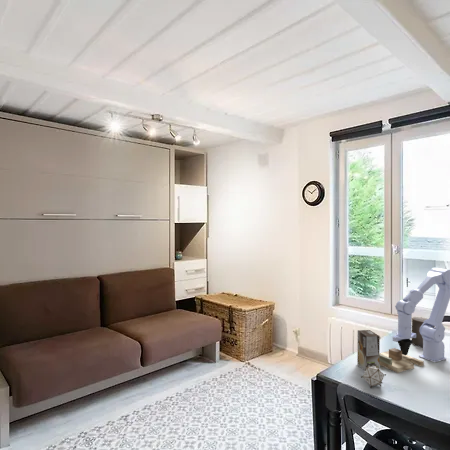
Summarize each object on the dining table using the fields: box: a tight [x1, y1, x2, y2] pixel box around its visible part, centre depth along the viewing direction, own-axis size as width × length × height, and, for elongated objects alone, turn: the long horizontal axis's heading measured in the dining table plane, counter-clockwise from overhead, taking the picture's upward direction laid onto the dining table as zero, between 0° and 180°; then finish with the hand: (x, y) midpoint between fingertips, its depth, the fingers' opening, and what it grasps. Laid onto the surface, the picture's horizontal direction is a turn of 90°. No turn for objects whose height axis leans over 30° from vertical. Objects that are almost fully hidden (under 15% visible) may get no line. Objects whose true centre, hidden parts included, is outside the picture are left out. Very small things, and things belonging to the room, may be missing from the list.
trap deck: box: [379, 350, 425, 373], centre depth 164 cm, size 18×16×4 cm
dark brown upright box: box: [411, 316, 428, 348], centre depth 190 cm, size 10×10×15 cm
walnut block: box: [388, 347, 402, 361], centre depth 164 cm, size 4×4×4 cm
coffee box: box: [356, 329, 381, 372], centre depth 158 cm, size 9×6×16 cm
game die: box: [360, 364, 387, 389], centre depth 140 cm, size 9×8×10 cm
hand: (404, 354), depth 167 cm, fingers closed
